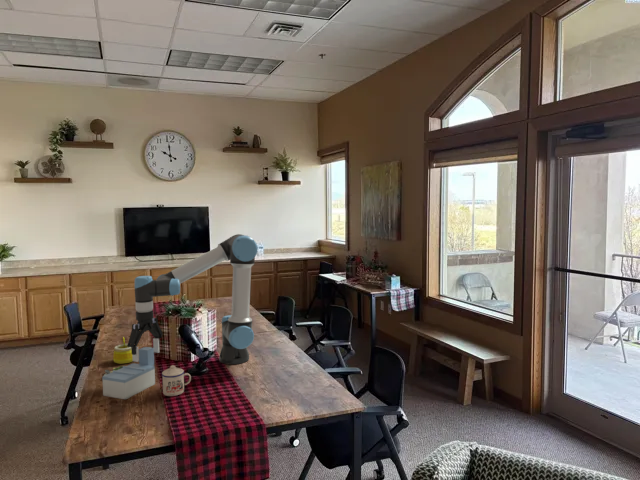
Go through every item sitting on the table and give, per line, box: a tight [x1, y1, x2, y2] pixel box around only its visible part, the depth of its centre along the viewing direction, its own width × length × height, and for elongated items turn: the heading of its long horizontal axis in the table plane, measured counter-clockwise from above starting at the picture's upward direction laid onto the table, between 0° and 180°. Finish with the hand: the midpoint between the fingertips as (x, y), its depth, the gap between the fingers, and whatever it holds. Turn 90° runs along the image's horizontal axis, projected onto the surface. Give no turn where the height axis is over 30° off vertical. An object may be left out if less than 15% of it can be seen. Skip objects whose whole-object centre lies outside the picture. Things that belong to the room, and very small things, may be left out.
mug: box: [112, 335, 134, 365], centre depth 250 cm, size 13×11×12 cm
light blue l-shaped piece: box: [101, 346, 156, 383], centre depth 213 cm, size 12×22×9 cm, turn 159°
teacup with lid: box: [161, 364, 192, 397], centre depth 208 cm, size 12×9×12 cm
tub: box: [102, 369, 156, 400], centre depth 212 cm, size 12×18×7 cm, turn 159°
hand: (146, 356), depth 221 cm, fingers open, 13 cm apart
